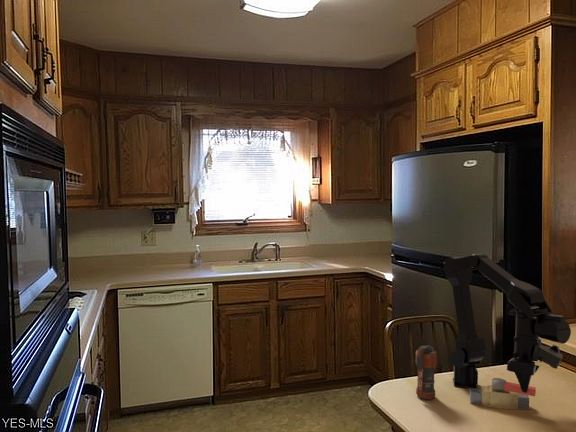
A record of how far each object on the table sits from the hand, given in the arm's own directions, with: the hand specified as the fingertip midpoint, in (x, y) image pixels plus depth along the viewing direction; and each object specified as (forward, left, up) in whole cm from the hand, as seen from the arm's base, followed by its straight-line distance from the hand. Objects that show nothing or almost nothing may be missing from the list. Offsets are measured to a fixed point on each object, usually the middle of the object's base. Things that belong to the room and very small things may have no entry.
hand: (524, 392), depth 130 cm
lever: (-2, +2, -1) cm, 4 cm away
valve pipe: (-6, +3, -6) cm, 9 cm away
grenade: (-26, +2, -6) cm, 27 cm away
